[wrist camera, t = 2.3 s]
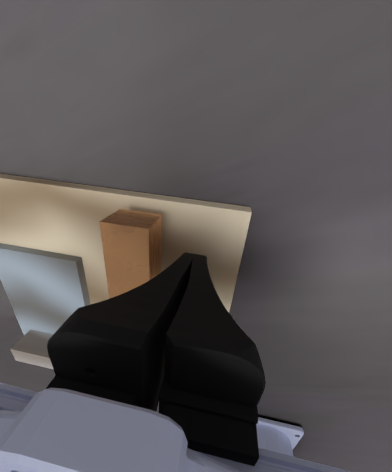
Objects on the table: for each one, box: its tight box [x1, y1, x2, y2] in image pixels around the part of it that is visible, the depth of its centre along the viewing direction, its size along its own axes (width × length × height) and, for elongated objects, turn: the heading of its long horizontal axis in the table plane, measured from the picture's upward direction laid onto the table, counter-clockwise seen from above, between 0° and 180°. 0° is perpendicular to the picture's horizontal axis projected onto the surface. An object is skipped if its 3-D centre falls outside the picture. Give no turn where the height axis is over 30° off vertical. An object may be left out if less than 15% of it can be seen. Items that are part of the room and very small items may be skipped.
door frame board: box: [0, 174, 252, 369], centre depth 16 cm, size 19×18×4 cm
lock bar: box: [99, 209, 162, 299], centre depth 13 cm, size 13×3×2 cm, turn 175°
